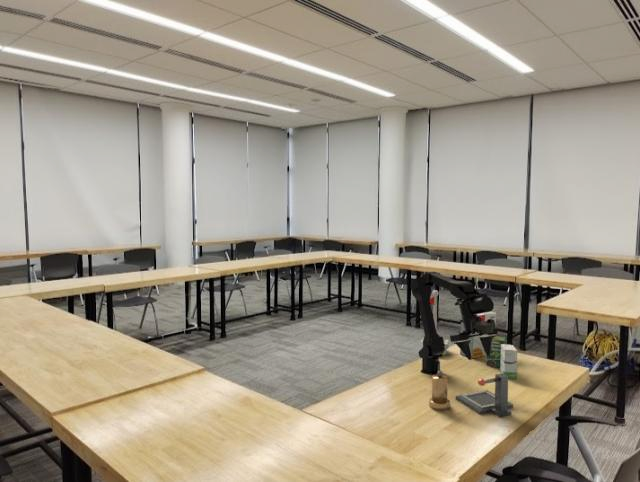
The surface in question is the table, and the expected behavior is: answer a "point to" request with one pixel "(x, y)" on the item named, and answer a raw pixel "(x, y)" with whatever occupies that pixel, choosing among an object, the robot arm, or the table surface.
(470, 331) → the robot arm
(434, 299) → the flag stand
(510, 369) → the ink box
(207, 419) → the table surface
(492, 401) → the press bed
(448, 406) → the amber cylindrical piece
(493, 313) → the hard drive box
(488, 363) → the coffee box
